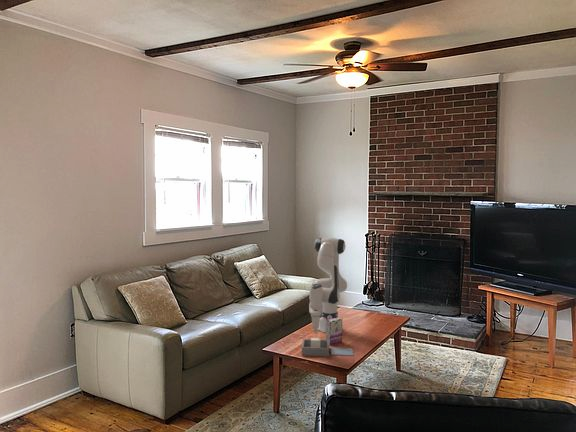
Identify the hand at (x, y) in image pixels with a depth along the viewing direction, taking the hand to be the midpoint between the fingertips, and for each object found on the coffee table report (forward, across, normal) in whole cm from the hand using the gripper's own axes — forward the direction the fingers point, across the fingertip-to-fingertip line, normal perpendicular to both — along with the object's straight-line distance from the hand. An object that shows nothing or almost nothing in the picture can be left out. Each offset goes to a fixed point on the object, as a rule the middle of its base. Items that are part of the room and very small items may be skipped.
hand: (315, 331), depth 291 cm
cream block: (+13, -1, 0) cm, 13 cm away
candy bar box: (+13, -18, +12) cm, 25 cm away
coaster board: (+14, -1, +17) cm, 22 cm away
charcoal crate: (+13, -1, 0) cm, 13 cm away
